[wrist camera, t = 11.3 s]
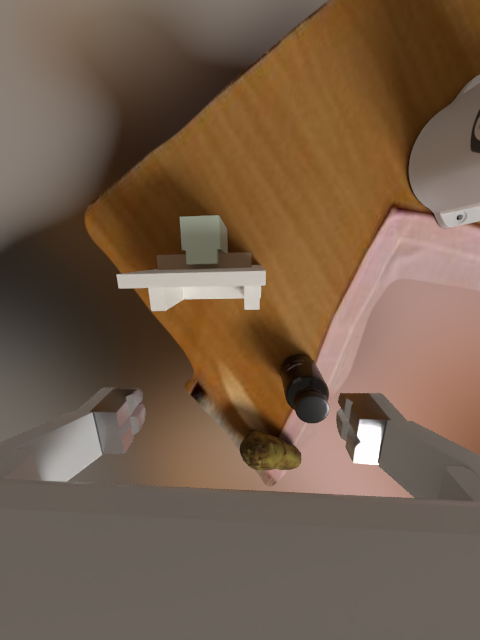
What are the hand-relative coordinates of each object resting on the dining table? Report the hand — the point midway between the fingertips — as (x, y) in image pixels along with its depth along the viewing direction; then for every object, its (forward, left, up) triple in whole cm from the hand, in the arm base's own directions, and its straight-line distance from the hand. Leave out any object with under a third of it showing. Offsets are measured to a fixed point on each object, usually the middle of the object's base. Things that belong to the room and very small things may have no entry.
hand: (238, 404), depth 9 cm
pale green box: (+6, -8, -31) cm, 33 cm away
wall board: (+6, -4, -32) cm, 33 cm away
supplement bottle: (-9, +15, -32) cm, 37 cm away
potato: (-4, +32, -32) cm, 45 cm away
